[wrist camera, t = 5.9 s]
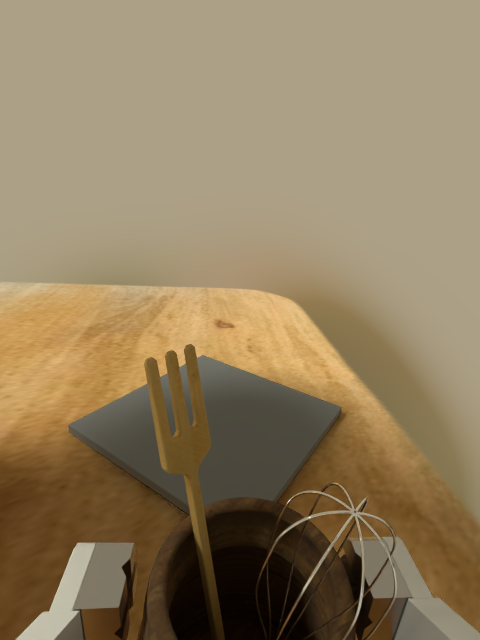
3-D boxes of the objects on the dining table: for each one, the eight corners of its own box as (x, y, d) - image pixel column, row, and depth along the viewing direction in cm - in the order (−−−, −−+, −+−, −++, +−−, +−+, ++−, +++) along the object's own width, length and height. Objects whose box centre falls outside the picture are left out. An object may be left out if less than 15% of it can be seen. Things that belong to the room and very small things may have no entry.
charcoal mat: (69, 432, 24) (68, 424, 24) (202, 360, 35) (202, 355, 35) (241, 551, 17) (242, 541, 17) (340, 413, 28) (341, 407, 28)
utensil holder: (243, 1022, 7) (330, 679, 3) (95, 721, 11) (46, 391, 7) (366, 727, 11) (473, 411, 7) (227, 582, 15) (245, 324, 11)
